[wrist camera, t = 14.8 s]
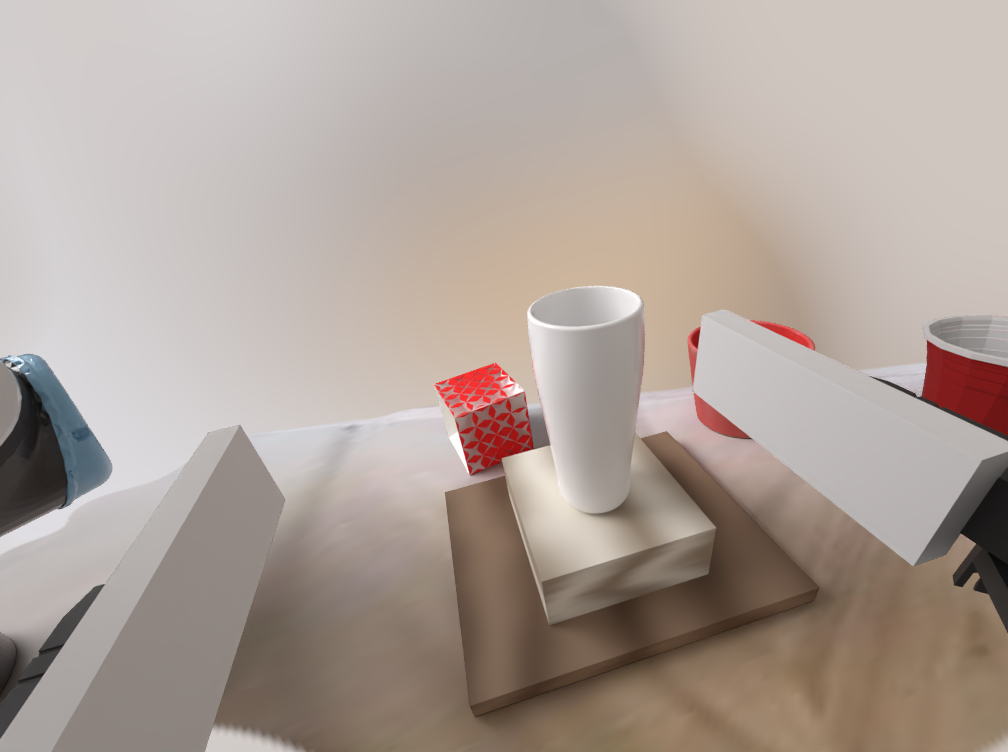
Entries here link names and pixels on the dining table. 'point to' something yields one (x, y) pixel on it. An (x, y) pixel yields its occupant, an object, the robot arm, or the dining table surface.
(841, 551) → the dining table surface
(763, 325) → the flower pot
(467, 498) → the display stand
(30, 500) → the robot arm
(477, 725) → the dining table surface
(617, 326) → the drinking glass
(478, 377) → the red patterned cube
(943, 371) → the plastic cup
